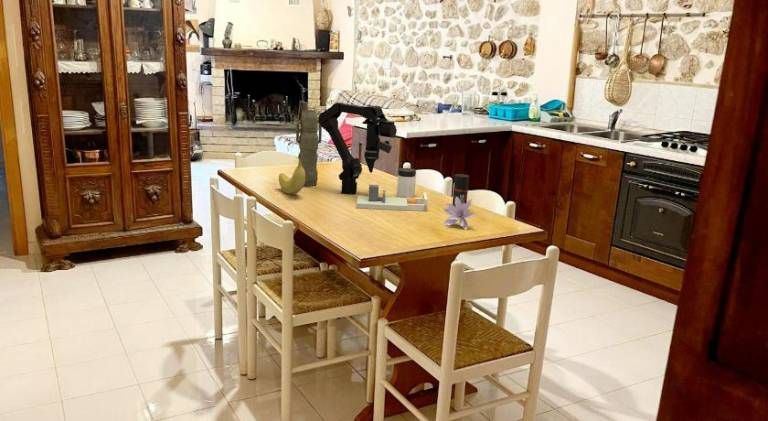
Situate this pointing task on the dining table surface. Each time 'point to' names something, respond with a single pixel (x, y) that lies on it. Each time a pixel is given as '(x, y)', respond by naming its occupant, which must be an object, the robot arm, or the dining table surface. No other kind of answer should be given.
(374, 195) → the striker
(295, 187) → the banana
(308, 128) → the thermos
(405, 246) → the dining table surface
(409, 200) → the ball
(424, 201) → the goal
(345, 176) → the robot arm
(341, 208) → the dining table surface
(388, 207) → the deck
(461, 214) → the water lily
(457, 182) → the deodorant
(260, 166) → the dining table surface
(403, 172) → the jar
